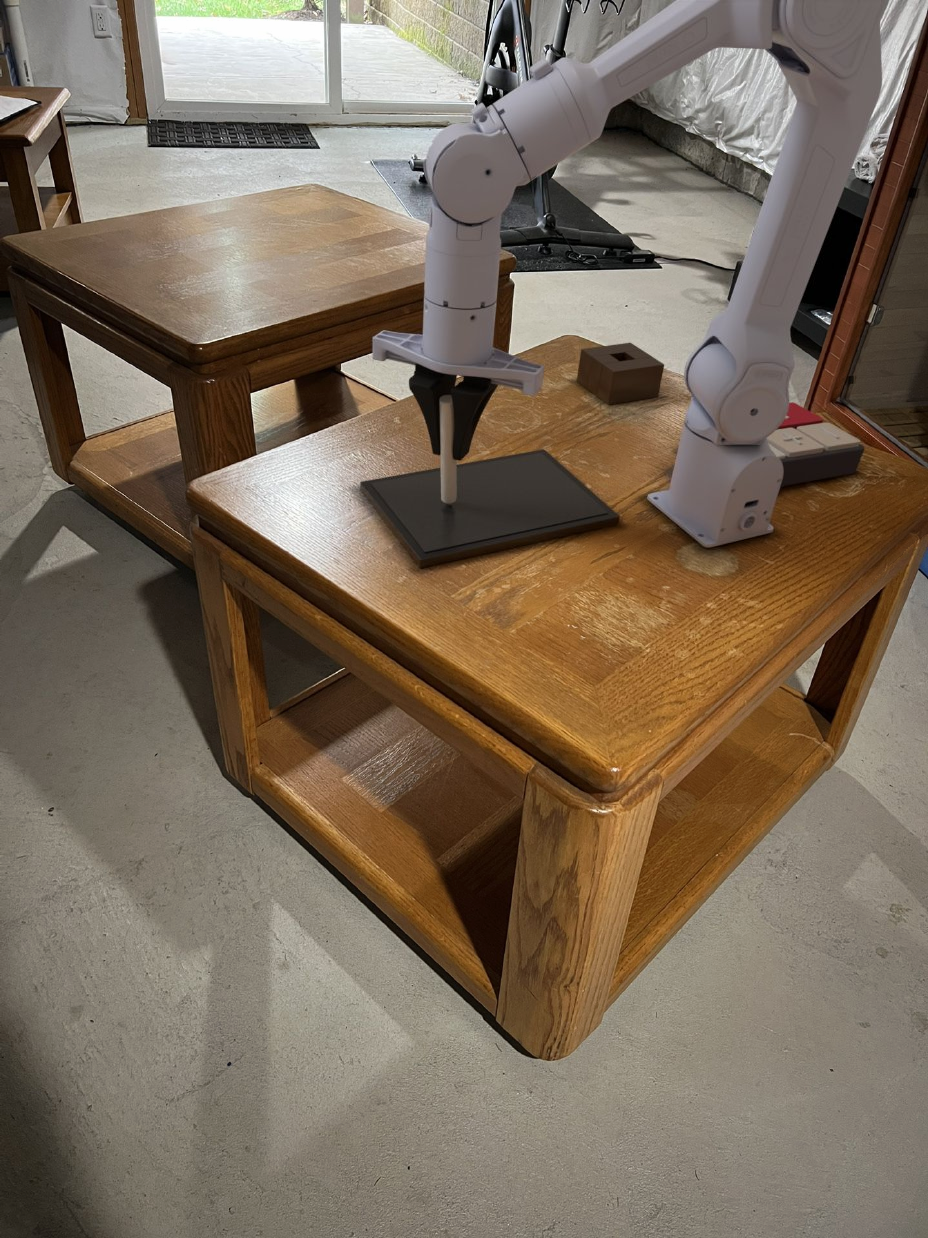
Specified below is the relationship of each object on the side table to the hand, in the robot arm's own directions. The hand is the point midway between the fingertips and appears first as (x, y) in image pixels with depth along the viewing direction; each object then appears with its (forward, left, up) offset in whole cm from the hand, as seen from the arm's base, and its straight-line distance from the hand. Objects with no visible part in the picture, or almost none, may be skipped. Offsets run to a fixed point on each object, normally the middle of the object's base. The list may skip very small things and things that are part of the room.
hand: (451, 452), depth 82 cm
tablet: (0, -4, -6) cm, 8 cm away
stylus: (0, 0, -5) cm, 5 cm away
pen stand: (+19, -31, -6) cm, 37 cm away
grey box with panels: (-2, -36, -6) cm, 37 cm away
